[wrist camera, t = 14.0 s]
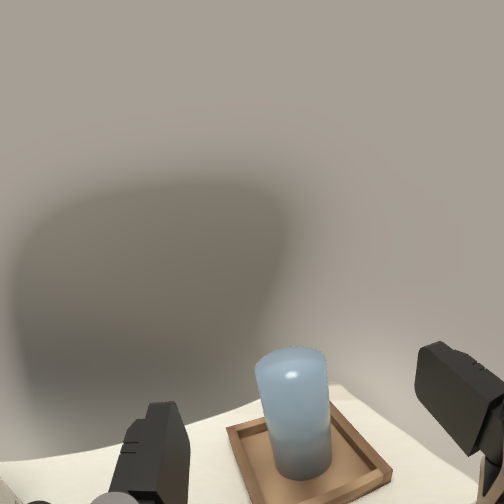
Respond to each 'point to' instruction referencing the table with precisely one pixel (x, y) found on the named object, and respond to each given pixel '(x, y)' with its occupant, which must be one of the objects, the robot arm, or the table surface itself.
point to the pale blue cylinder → (296, 410)
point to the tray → (314, 490)
